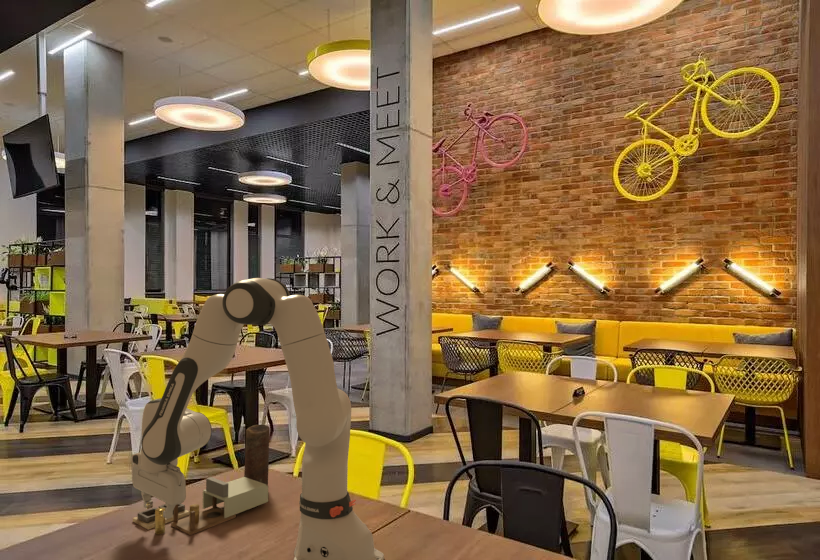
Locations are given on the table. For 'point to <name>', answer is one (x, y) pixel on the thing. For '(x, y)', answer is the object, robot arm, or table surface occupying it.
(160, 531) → the pin
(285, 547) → the table surface
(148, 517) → the tan socket tray
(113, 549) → the table surface
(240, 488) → the lid
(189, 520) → the base
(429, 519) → the table surface
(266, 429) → the brown wooden log
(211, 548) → the table surface
